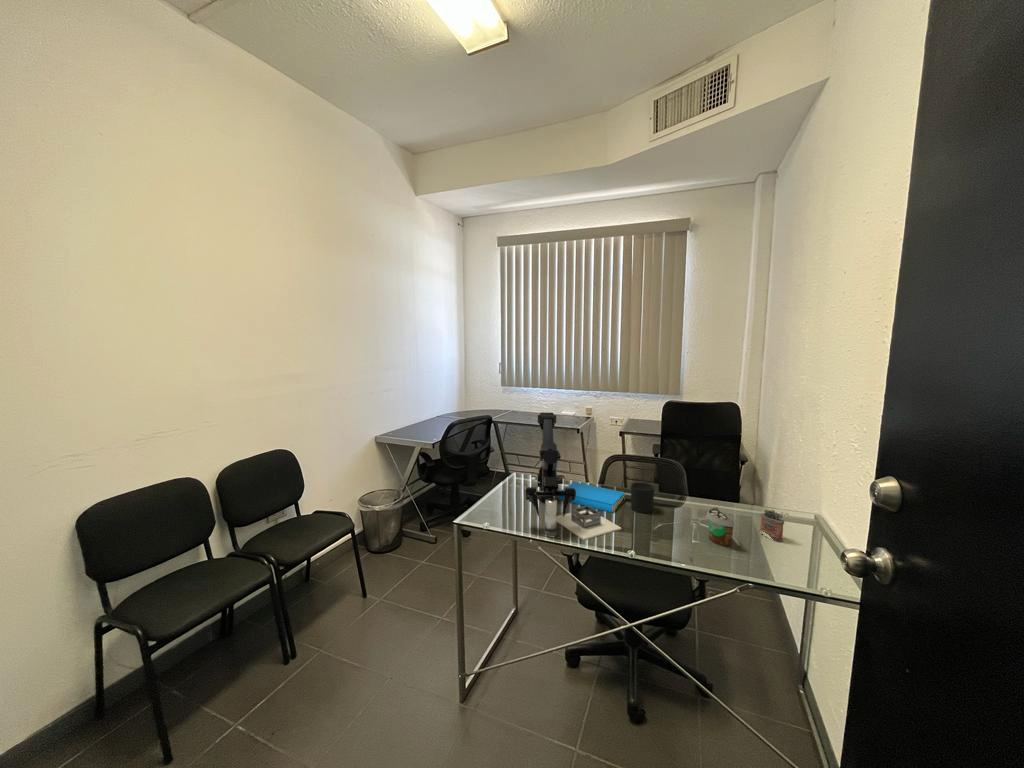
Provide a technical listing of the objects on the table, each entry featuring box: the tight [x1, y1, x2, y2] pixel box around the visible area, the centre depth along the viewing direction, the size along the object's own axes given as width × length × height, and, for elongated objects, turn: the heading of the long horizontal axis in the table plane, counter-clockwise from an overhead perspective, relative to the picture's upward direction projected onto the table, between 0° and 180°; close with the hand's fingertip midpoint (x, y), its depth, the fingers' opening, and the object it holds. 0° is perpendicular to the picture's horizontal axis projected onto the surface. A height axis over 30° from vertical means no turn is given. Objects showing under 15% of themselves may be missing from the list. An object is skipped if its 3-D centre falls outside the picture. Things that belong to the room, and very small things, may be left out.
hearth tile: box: [557, 510, 622, 541], centre depth 156 cm, size 20×18×1 cm
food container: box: [705, 506, 735, 548], centre depth 143 cm, size 12×6×10 cm, turn 178°
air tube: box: [544, 497, 558, 537], centre depth 146 cm, size 5×5×13 cm
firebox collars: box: [570, 505, 602, 529], centre depth 156 cm, size 8×8×5 cm
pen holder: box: [630, 482, 655, 514], centre depth 170 cm, size 9×9×10 cm
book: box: [557, 481, 626, 513], centre depth 180 cm, size 17×4×25 cm
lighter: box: [759, 508, 785, 543], centre depth 145 cm, size 8×3×10 cm, turn 23°
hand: (551, 516), depth 146 cm, fingers open, 9 cm apart
